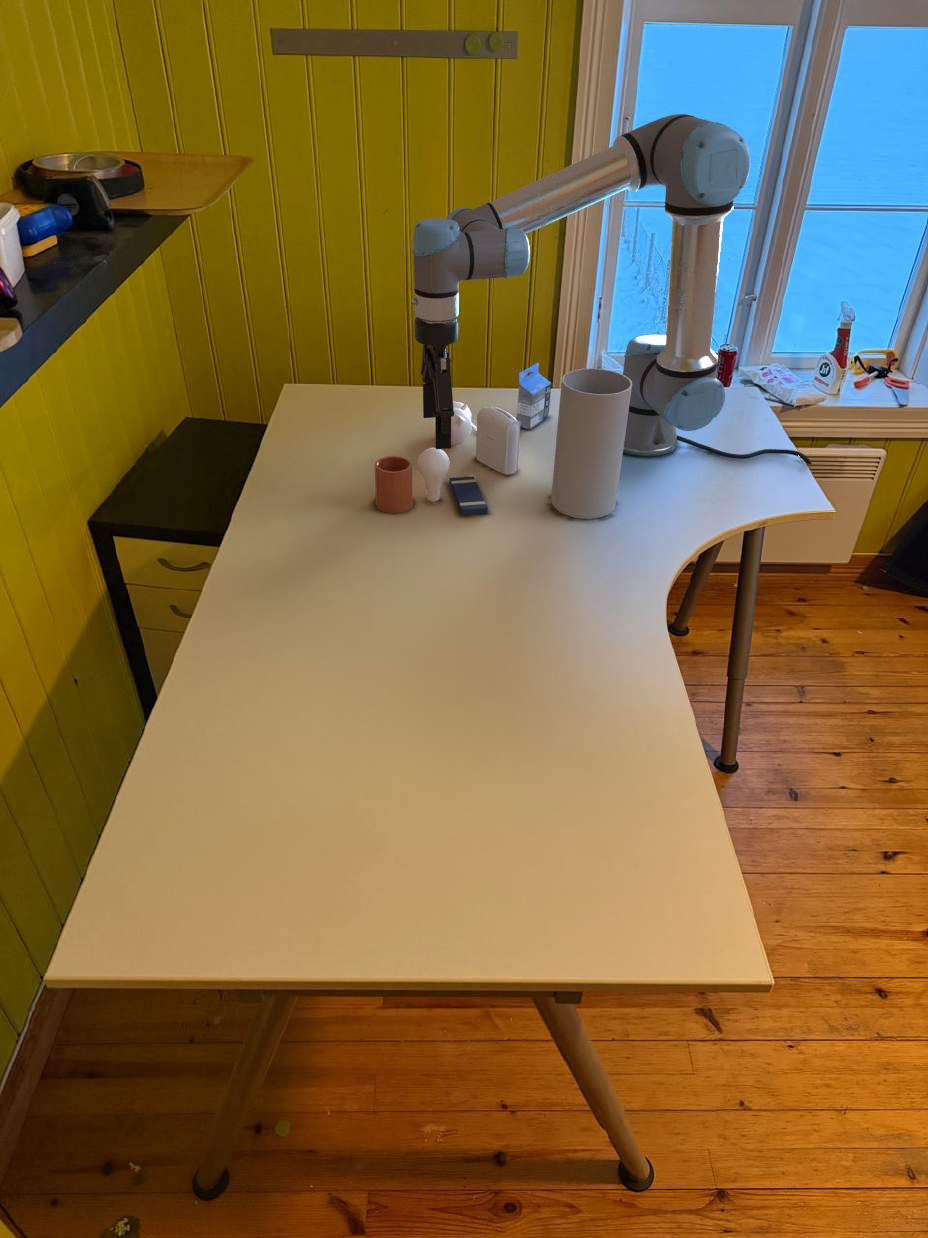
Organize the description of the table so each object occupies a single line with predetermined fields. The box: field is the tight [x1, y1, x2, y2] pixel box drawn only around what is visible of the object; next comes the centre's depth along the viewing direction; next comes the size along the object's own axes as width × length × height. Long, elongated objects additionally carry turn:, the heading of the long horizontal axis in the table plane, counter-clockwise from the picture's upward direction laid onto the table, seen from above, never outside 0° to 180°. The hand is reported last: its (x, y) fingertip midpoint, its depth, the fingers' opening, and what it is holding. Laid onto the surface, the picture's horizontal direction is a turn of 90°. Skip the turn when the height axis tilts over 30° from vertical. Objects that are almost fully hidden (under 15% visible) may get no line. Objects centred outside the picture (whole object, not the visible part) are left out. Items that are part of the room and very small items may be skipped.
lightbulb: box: [416, 447, 451, 503], centre depth 174 cm, size 6×6×11 cm
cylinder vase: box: [550, 367, 632, 520], centre depth 170 cm, size 12×12×25 cm
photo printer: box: [475, 405, 521, 476], centre depth 186 cm, size 10×4×12 cm, turn 39°
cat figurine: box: [451, 400, 477, 445], centre depth 198 cm, size 9×11×12 cm
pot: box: [373, 455, 414, 514], centre depth 173 cm, size 7×7×8 cm
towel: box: [448, 475, 489, 517], centre depth 178 cm, size 5×13×1 cm, turn 11°
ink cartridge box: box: [516, 362, 552, 430], centre depth 205 cm, size 9×4×12 cm, turn 147°
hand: (436, 432), depth 169 cm, fingers open, 13 cm apart
